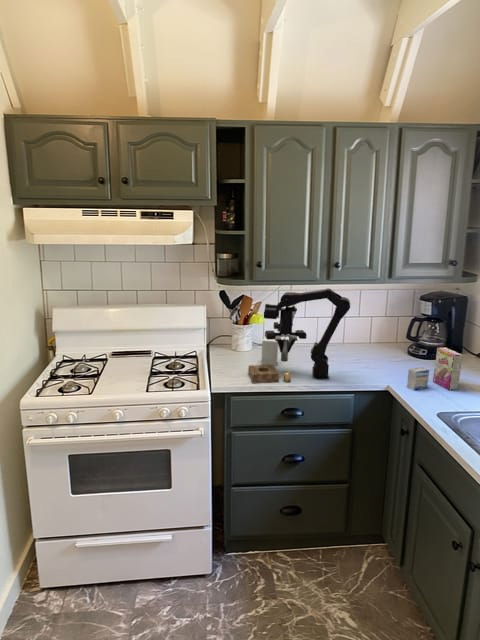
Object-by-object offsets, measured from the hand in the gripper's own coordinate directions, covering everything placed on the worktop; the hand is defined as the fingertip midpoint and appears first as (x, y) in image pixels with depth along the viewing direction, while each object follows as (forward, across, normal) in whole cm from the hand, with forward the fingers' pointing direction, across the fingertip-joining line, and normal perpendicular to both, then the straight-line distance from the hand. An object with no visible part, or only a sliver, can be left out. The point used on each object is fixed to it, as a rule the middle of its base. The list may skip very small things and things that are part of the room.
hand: (284, 352), depth 221 cm
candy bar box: (+10, -69, +22) cm, 73 cm away
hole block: (+10, +11, +5) cm, 16 cm away
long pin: (+4, 0, 0) cm, 4 cm away
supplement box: (+11, +4, -15) cm, 19 cm away
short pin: (+10, +1, +10) cm, 15 cm away
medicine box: (+10, -55, +23) cm, 61 cm away
